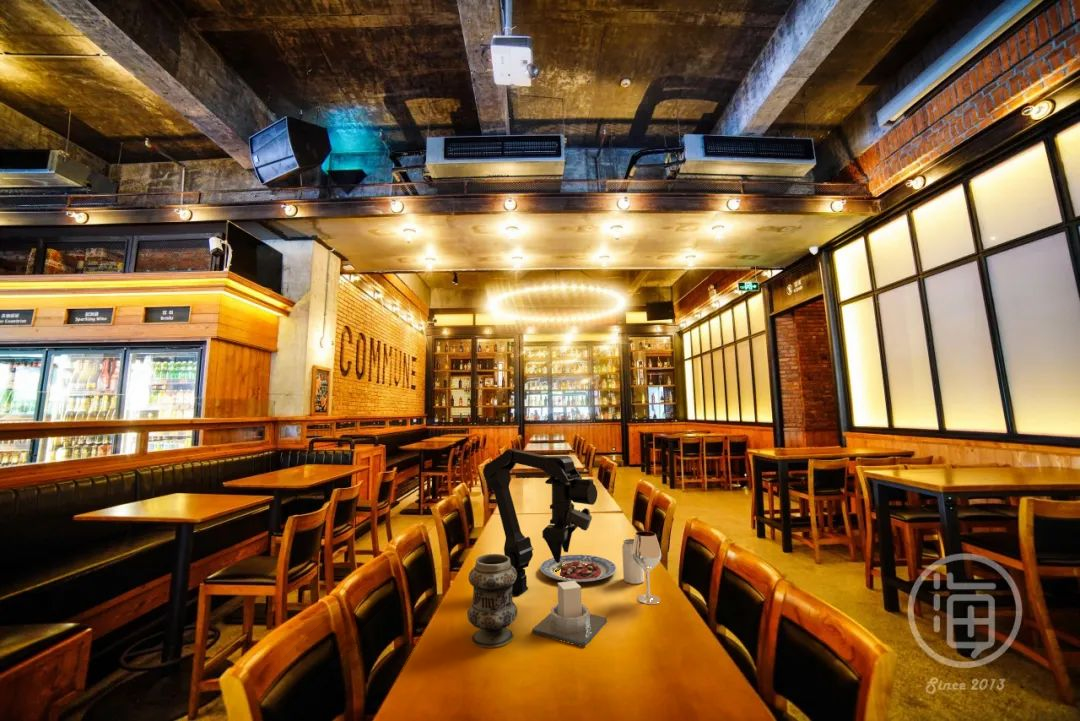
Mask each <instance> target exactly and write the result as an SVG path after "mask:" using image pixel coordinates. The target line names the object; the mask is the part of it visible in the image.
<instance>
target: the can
mask: <svg viewBox="0 0 1080 721" xmlns="http://www.w3.org/2000/svg"><path fill="white" fill-rule="evenodd" d="M633 543H634V538H628V539H627V538H626V539H624V540H623V544H622V548H621V549H622V568H623V569H622V570H623V571H622V572H623V580H624V582H626V583H627V584H630V585H641V584H643V583H644V582H645V571H644V570H643V569H642V568H641V567H640V566H639V565H638V564H637V563H636V562H635V560H634V558H633V555H632V549H633Z"/></svg>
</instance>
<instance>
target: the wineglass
mask: <svg viewBox="0 0 1080 721" xmlns="http://www.w3.org/2000/svg"><path fill="white" fill-rule="evenodd" d="M634 534H635V535H634V538H633V539H634V543H633V549H632V555H633V558H634V560H635V562H636V563H637V564H638V565H639V566H640V567H641V568H642V569H643V570H644V573H645V575H646V576H645V577H646V593H645V594H640V595H638V596H637V601H638V602H640V603H642V604H645V605H657V604H659V603H661V598H660V597H659V596H657V595H654V594H651V588H650V585H651V584H650V572H651V571H652V570H653V569H654V568H655V567H656V566H657V565H658V564H659V563H660V561H661V559H662V550H661V548H660V542H659V541H658V538H657V534H656V533H655V532H652V531H647V530H646V531H645V530H641V531H636V532H635V533H634Z"/></svg>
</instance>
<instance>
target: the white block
mask: <svg viewBox="0 0 1080 721" xmlns="http://www.w3.org/2000/svg"><path fill="white" fill-rule="evenodd" d="M582 602H583V601H582V586H581V585H580V584H578V582H575V581H562V582H561V581H560V582H557V604H558V616H561V617H566V618H576V617H579V616H582V604H583V603H582Z"/></svg>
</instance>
